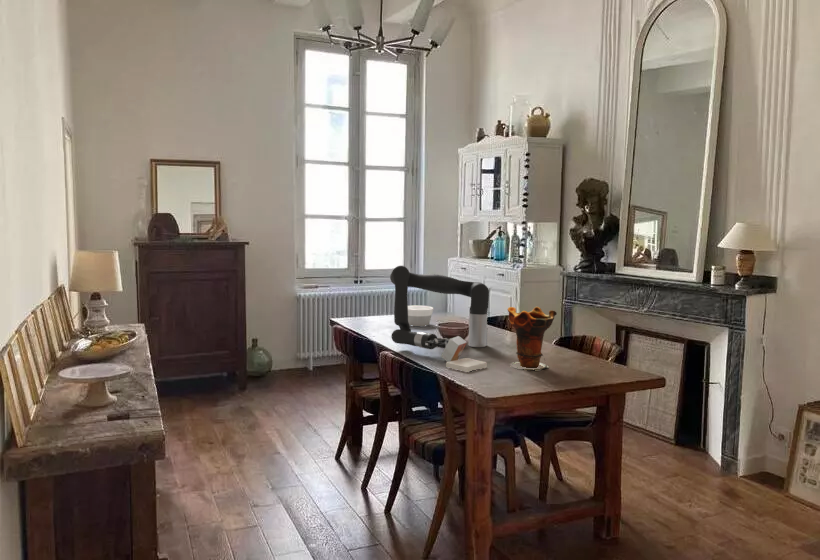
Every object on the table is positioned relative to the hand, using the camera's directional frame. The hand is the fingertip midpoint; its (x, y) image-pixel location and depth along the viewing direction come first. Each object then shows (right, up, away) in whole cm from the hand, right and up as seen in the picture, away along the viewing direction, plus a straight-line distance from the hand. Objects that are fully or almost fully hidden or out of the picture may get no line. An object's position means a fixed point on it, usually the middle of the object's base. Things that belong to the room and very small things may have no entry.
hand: (451, 344), depth 306 cm
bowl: (-15, +2, +98) cm, 99 cm away
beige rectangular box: (+6, -9, -11) cm, 16 cm away
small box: (-1, -7, +1) cm, 7 cm away
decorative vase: (+35, -10, -5) cm, 37 cm away
